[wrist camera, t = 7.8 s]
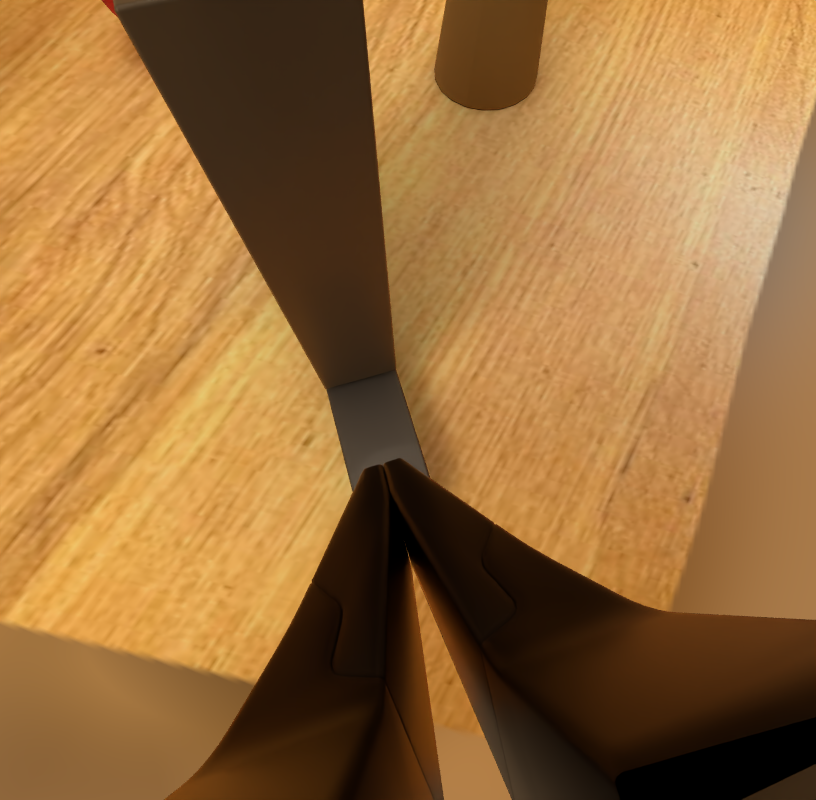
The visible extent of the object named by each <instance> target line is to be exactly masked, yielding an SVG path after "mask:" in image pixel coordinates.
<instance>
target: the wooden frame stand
mask: <svg viewBox="0 0 816 800" xmlns="http://www.w3.org/2000/svg"><path fill="white" fill-rule="evenodd" d="M327 393H328V397H329V401H330V405H331V409H332V413H333V417H334V421H335V425H336V429H337V432H338V436H339V440H340V444H341V448H342V452H343V456H344V460H345V464H346V468H347V472H348V475H349V479H350V483H351V487H352V491H354V489H355V487H356V485H357V482H358V480H359V478H360V476H361V474H362V472H363V470H364V469H365V468H368V467H371V466H375V465H378V464H381V465H384V463H385V462H388V461H391V460H394V459H398V458H401V459H403V460H405V461H406V462H407V463H409V464H410V465H412V466H413V467H415V468H416V469H417V470H419V471H420V472H422V473H423V474H425V475H426V476H428V477H429V478H430V476H429V473H428V470H427V467H426V463H425V460H424V457H423V454H422V451H421V448H420V445H419V441H418V438H417V435H416V432H415V429H414V426H413V422H412V419H411V416H410V413H409V410H408V407H407V403H406V400H405V397H404V394H403V391H402V388H401V385H400V381H399V378H398V375H397V372H396V369H395V370H392V371H389V372H385V373H382V374H378V375H375V376H371V377H367V378H364V379H360V380H357V381H353V382H350V383H346V384H343V385H339V386H336V387H332V388H328V389H327ZM383 468H384V467H383Z"/></svg>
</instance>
